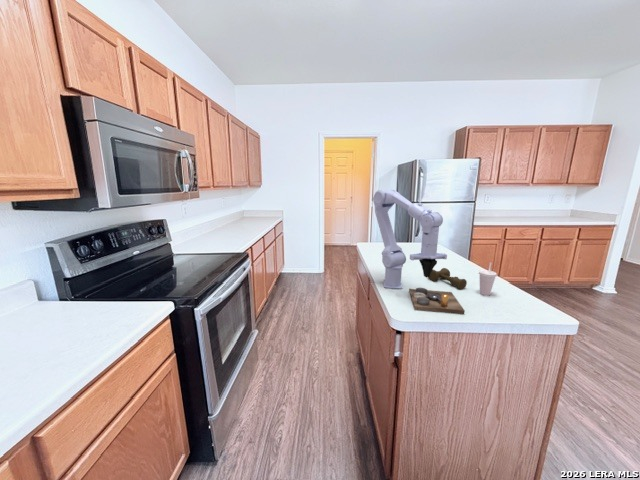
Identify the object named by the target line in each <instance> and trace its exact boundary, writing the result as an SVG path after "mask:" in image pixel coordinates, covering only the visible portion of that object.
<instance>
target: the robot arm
mask: <svg viewBox="0 0 640 480" xmlns="http://www.w3.org/2000/svg"><path fill="white" fill-rule="evenodd" d="M372 201H373V205H374V213H375V216H376V220H377V224H378V227H379V228H378V229H379V231H380V236H381V238H382V243H383V246H384V249H383V250H382V251H381V255H382V257H381V259H382V260H381V262H382V264H383V266H384V269H385V270H384V279H383V288H387V289H397V290H398V289H400V290H402V289H403V285H402V270H403V267H404V264H405V263H406V261H407V256H406V254H405V252H404V251H403V249H402V247H401V246H399V245H398V244H397V240H396V237H395V233H394V230H393V226H392V222H391V219H390V216H389V210H390V209H391V208H392V207H393V206H394V205H395V204H396V205H397V206H399V207H400V208H402V209H404V210H406V211H407V213H408V215H409V216H410V217H411V218H413V219H415V220H417V222H419V223H420V227H421V231H422V233H421V234H422V235H421V236H422V237H421V248H420V252H419V253H412V254H409V260H411V261H417V260H419V263H420V265H421V268H422V273H423V276H424V277H425V278H427V279H428V277H430V274H431V272H432V270H434V268H435V266H436V265H437V263H438V260H447V259H448V254H446V253H442V252H441V253H438V252H437V251H438V243H439V231H440V227H441V226H442V225H443V222H444V218H443V216H442V215H441V213H440V212H435V211H434V212H433V211H432V210H431V208H429V209H428V208H426V207H425V206H424V205H423V204H422V203H421V202H415V203H413V202H411V201H410V200H408V199H407V198H406V197H404V196H403V195H402V194H400V192H398V191H396V190H395V189H389V190H382V189H381V190H380V189H378V190H377V191H375V192H374V194H373V197H372Z"/></svg>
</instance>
